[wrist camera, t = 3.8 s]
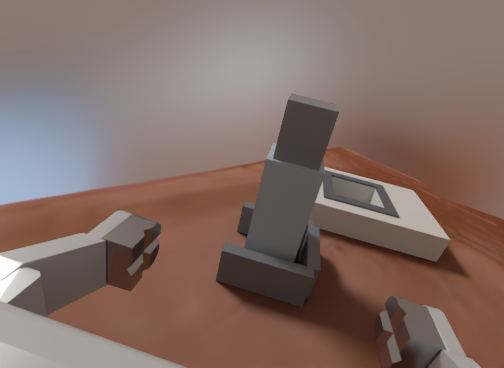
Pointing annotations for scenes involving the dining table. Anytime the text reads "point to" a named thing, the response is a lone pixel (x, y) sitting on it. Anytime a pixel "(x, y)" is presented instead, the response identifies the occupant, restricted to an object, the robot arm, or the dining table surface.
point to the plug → (291, 178)
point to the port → (377, 215)
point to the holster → (272, 266)
